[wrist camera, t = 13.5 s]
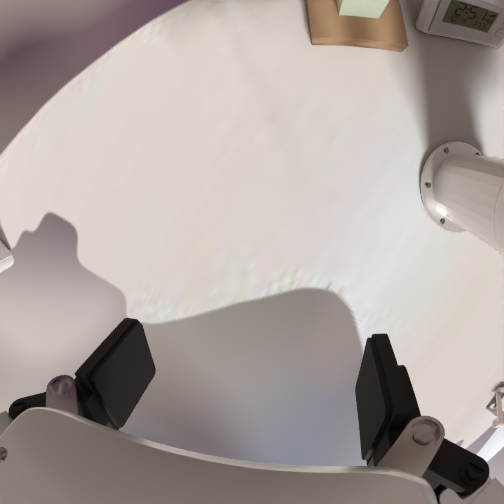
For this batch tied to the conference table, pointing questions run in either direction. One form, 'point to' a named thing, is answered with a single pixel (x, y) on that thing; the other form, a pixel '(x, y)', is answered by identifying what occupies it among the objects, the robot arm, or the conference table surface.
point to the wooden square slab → (356, 27)
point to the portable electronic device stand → (498, 409)
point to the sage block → (362, 7)
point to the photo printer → (5, 257)
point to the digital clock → (464, 20)
